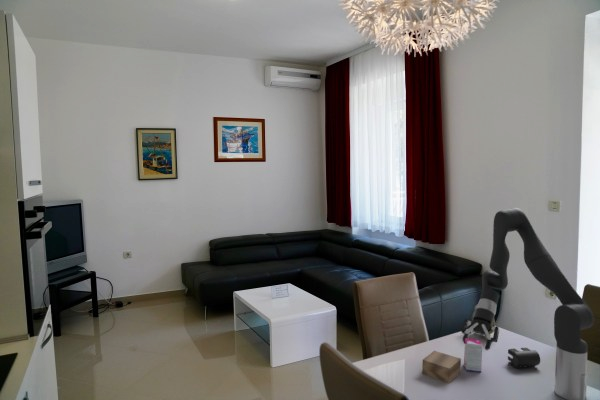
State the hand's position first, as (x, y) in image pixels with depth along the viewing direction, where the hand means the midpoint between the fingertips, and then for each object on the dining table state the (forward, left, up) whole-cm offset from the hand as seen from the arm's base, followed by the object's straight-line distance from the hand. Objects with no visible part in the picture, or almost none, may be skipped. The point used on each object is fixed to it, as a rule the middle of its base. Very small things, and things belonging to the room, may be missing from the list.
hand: (475, 346), depth 168 cm
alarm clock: (+7, -34, -9) cm, 36 cm away
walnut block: (+8, +15, -9) cm, 19 cm away
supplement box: (0, +3, -9) cm, 9 cm away
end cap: (-15, -13, -9) cm, 22 cm away
